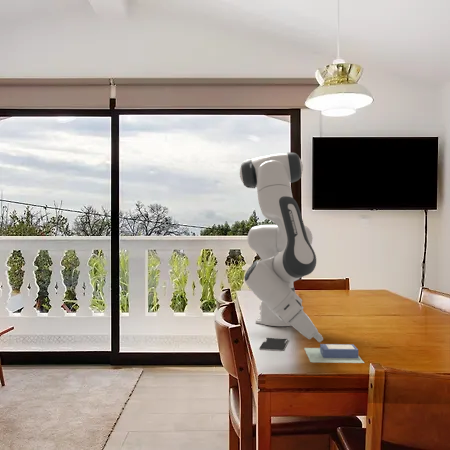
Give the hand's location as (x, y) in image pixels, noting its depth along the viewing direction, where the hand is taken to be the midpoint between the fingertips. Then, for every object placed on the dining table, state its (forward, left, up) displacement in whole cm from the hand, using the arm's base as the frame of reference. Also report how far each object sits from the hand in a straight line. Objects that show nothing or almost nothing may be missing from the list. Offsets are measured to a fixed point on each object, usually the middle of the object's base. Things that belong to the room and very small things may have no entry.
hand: (321, 339), depth 146 cm
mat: (0, +3, -5) cm, 6 cm away
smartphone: (-12, -13, -6) cm, 19 cm away
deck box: (0, 0, -3) cm, 3 cm away
